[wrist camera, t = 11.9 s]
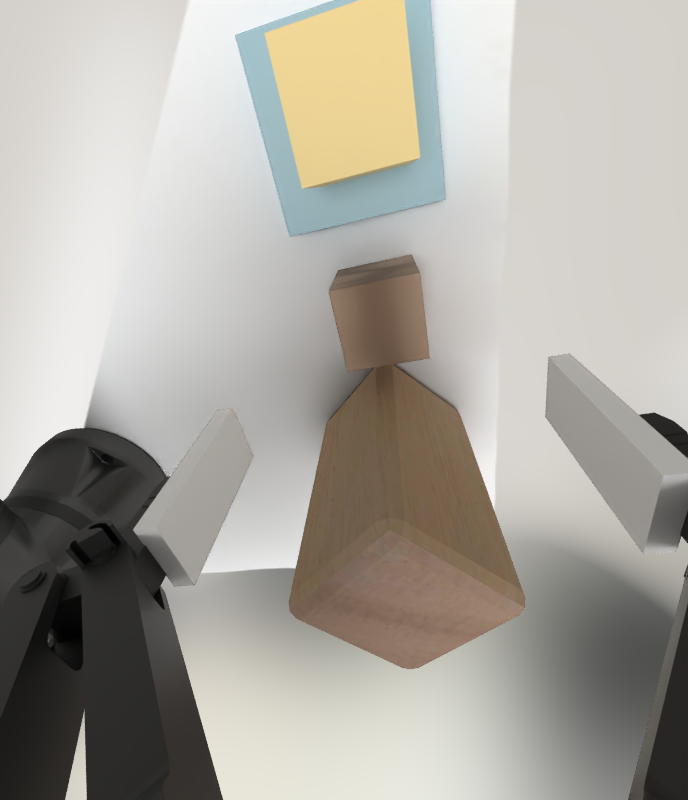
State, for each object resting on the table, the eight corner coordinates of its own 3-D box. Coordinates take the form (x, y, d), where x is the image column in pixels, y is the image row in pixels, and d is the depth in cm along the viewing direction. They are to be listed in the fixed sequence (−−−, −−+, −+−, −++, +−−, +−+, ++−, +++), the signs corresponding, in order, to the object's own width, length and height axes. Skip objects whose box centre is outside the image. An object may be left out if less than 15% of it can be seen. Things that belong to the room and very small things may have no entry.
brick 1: (320, 187, 25) (301, 188, 19) (295, 73, 22) (264, 32, 16) (409, 163, 24) (420, 157, 18) (395, 41, 21) (402, -15, 15)
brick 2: (353, 337, 33) (347, 371, 27) (338, 270, 31) (328, 291, 25) (419, 325, 32) (429, 358, 26) (411, 254, 29) (419, 272, 23)
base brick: (297, 232, 29) (289, 237, 27) (250, 51, 24) (235, 35, 21) (439, 198, 27) (445, 199, 25) (421, -8, 22) (427, -33, 19)
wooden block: (397, 470, 41) (411, 680, 24) (322, 423, 38) (278, 618, 21) (462, 410, 36) (539, 615, 19) (383, 353, 34) (388, 528, 17)
